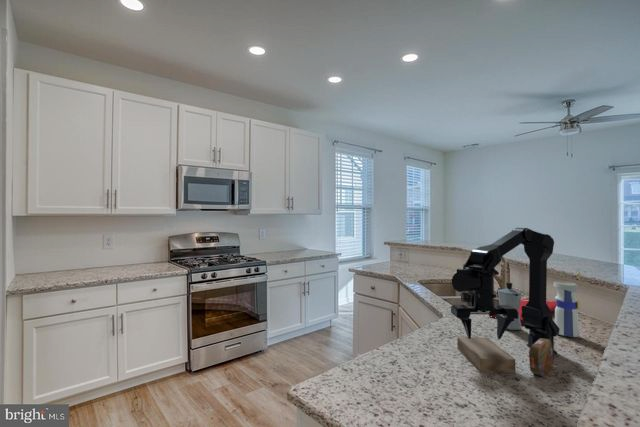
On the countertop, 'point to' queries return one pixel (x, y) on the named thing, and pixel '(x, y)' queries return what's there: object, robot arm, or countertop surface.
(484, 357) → the walnut plinth
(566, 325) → the water bottle
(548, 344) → the tin
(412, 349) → the countertop surface
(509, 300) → the coffee maker
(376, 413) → the countertop surface
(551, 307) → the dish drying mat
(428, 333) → the countertop surface
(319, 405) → the countertop surface
